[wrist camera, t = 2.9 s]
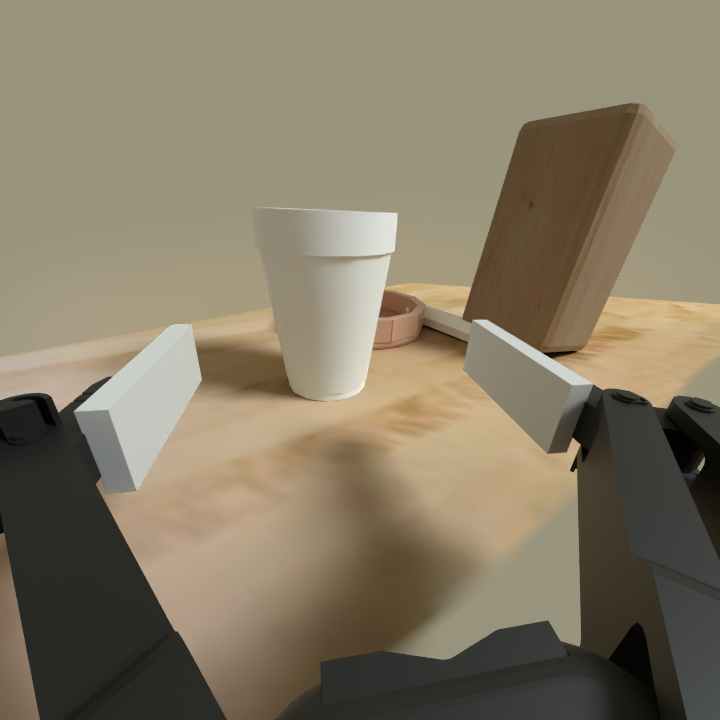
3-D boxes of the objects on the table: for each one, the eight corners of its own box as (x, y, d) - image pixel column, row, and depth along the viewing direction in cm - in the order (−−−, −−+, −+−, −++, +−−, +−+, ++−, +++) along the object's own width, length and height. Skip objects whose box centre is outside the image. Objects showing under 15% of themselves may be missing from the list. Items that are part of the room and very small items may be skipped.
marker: (524, 371, 32) (407, 321, 43) (535, 359, 33) (418, 313, 44) (527, 351, 30) (404, 304, 41) (539, 339, 31) (416, 296, 42)
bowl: (299, 352, 32) (298, 321, 31) (300, 310, 45) (299, 287, 44) (439, 348, 34) (443, 319, 33) (401, 309, 47) (403, 287, 46)
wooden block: (456, 323, 37) (518, 118, 30) (506, 325, 42) (568, 152, 36) (539, 357, 29) (647, 93, 22) (586, 353, 35) (684, 141, 28)
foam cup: (367, 354, 32) (374, 212, 27) (400, 405, 24) (420, 214, 18) (269, 361, 30) (255, 207, 24) (268, 419, 22) (247, 207, 16)
